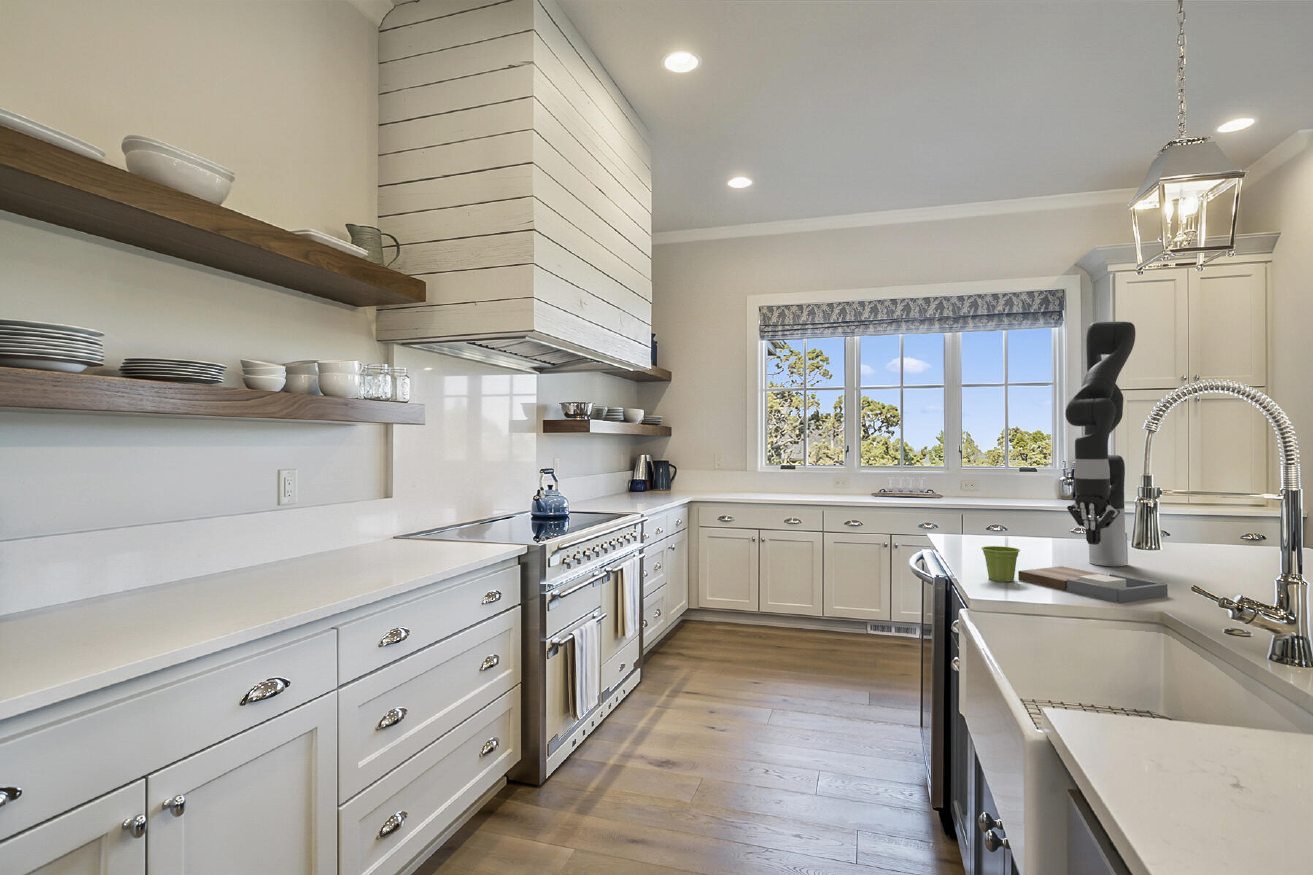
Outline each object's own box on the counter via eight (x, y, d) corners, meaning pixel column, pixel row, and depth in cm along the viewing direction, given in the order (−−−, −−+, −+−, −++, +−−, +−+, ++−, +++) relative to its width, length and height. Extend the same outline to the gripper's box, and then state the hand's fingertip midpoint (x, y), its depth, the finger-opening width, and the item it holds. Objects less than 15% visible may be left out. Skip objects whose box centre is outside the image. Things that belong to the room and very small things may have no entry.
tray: (1112, 585, 169) (1111, 573, 169) (1167, 596, 156) (1167, 584, 156) (1066, 590, 164) (1065, 579, 164) (1120, 603, 151) (1119, 590, 151)
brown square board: (1061, 575, 183) (1061, 566, 183) (1110, 584, 170) (1110, 575, 170) (1018, 579, 178) (1018, 570, 178) (1065, 590, 164) (1065, 580, 164)
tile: (1098, 583, 168) (1098, 574, 168) (1126, 589, 161) (1125, 579, 161) (1079, 586, 166) (1079, 576, 166) (1106, 591, 159) (1105, 581, 159)
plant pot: (983, 575, 185) (982, 544, 185) (1021, 578, 180) (1020, 547, 180) (980, 581, 177) (980, 549, 177) (1020, 584, 172) (1019, 552, 172)
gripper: (1128, 477, 160) (1130, 546, 160) (1078, 474, 173) (1080, 539, 173) (1106, 478, 158) (1108, 549, 158) (1057, 475, 171) (1059, 541, 171)
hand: (1093, 543), depth 166 cm, fingers closed
